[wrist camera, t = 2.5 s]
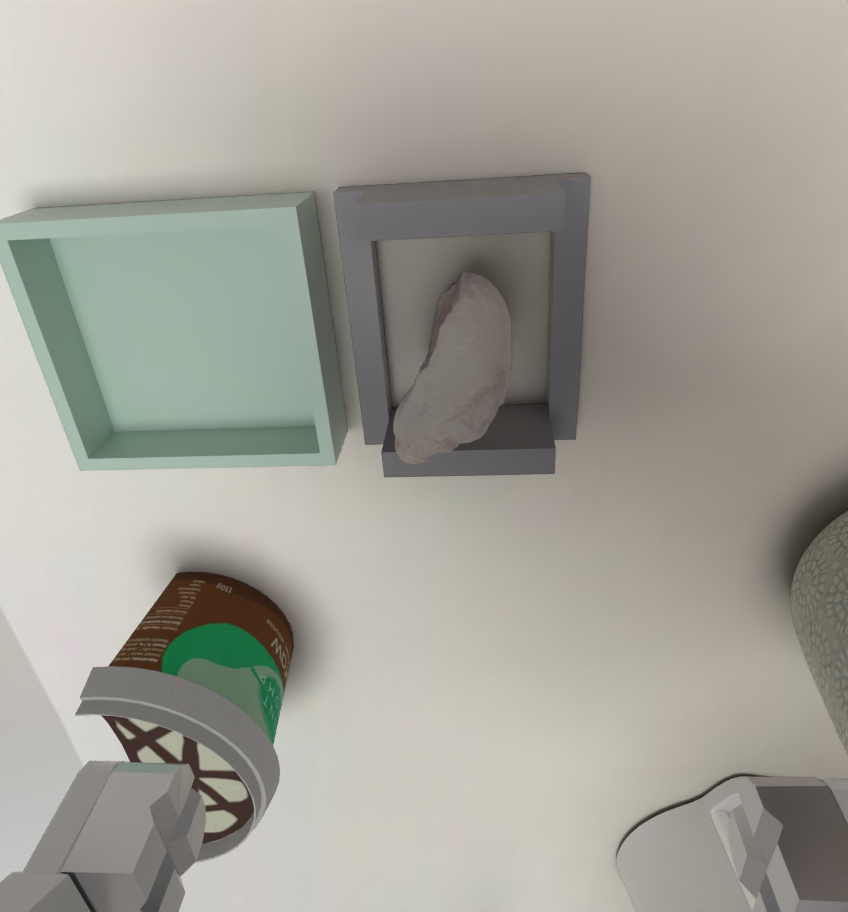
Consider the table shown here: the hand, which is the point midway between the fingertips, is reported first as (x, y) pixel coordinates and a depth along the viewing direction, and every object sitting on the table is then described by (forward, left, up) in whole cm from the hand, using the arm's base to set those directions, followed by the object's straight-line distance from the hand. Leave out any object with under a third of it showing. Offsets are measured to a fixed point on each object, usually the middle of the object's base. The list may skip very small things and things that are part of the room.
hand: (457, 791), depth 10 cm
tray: (+12, 0, -21) cm, 24 cm away
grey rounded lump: (0, 0, -22) cm, 22 cm away
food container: (+13, +18, -22) cm, 31 cm away
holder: (0, 0, -21) cm, 21 cm away
